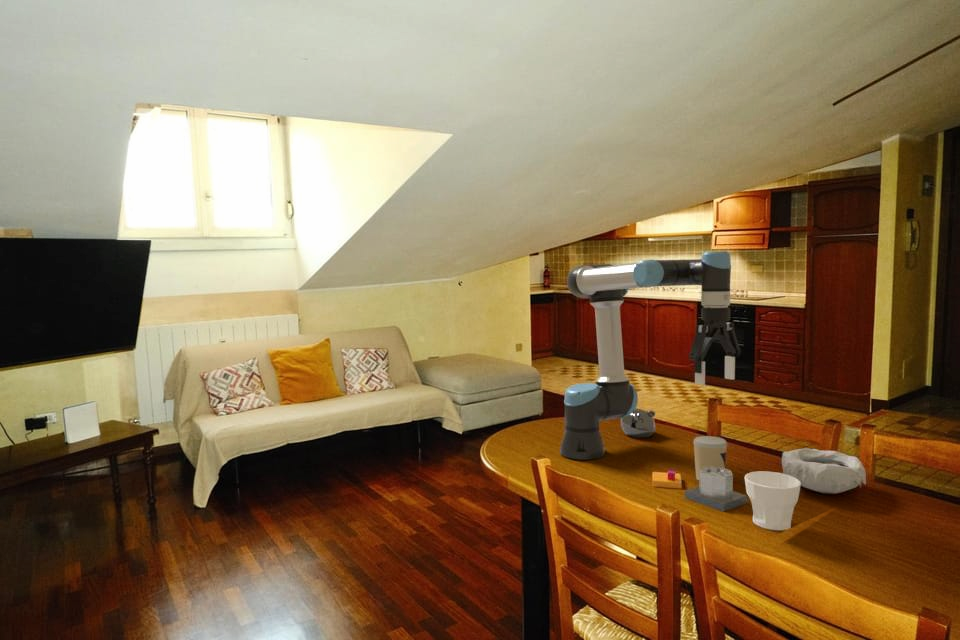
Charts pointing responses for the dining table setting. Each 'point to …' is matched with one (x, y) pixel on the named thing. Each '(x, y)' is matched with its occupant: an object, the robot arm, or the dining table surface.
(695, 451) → the coffee cup
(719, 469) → the block
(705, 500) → the shaft block
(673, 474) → the push button box
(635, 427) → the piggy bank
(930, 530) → the dining table surface
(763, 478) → the cup
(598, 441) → the robot arm
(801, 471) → the bowl
